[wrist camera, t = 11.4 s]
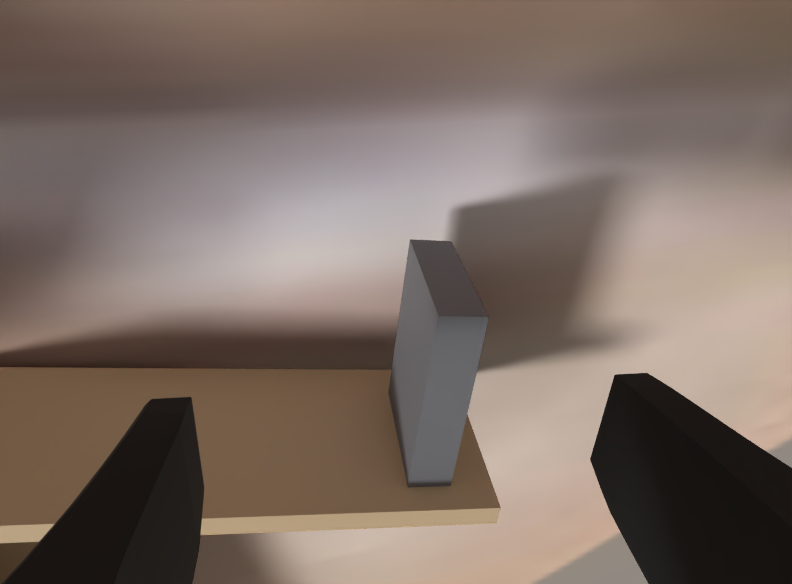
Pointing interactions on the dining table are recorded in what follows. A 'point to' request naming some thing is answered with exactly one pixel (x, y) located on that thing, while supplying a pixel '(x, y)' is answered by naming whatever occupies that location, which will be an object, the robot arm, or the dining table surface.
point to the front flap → (279, 428)
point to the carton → (13, 556)
